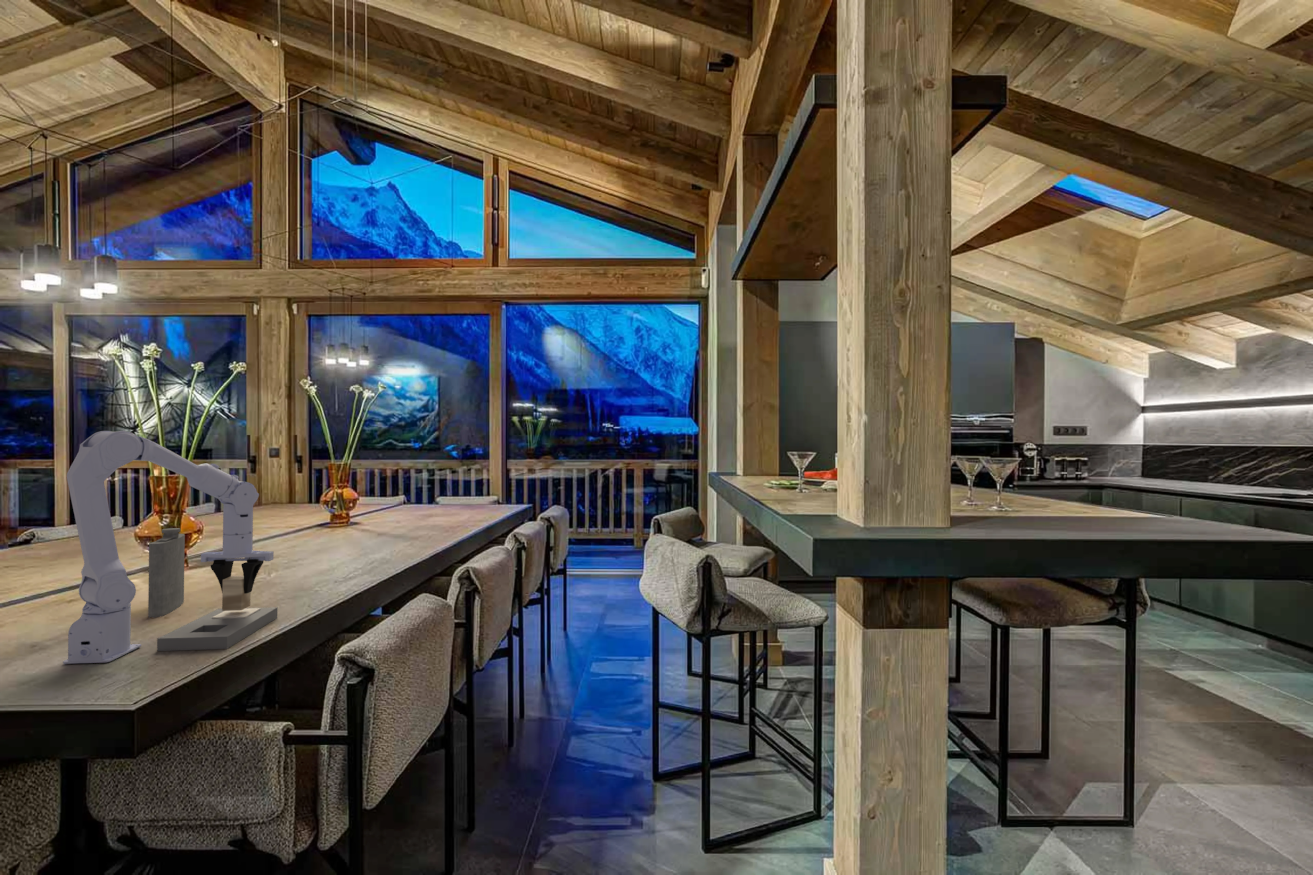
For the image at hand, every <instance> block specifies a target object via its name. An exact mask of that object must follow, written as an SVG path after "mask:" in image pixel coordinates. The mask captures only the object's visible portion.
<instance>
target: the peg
mask: <svg viewBox="0 0 1313 875" xmlns="http://www.w3.org/2000/svg"><path fill="white" fill-rule="evenodd" d="M251 593H252V591H251V592H249V593H244V575H231V577H228V578H226V579H223V589H222V590H221V594H222V595H221V600H222V602H221V603H222V604H221V605H222V606H221V609H222V611H236V610H243V609H245V608H250V606H251Z"/></svg>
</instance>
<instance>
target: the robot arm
mask: <svg viewBox="0 0 1313 875" xmlns="http://www.w3.org/2000/svg"><path fill="white" fill-rule="evenodd" d="M133 461H140V462H141V461H143V462H144V461H145V462H150V463H153V464H155V465H157V466H158V467H160V468H161V467H162V468H164V469H166V470H169V471H171V472H173V473H175V474H178V475H180V476H182V477H184V478H186V480H187V483H188V485H189V487H192V488H194V489H196V490H198V491H200V492H202V493H205V494H206V495H209V496H211V497H213V498H215V499H218V501H220V503H221V504H223V505H222V506H223V507H222V508H223V510H222V551H205V552H202V553H200V563H207V562H213V563H212V564H210V569H211V570H212V572H213V573H214V574H215V576H216V578H217V580H218V583H219V585H220V589H221V591H222V589H223V579H226V578H228V577H231V576H232V572H233V571H232V570H233V566H234V565H233V564H234V562H243V563H241V568H242V574H243V575H242V576H244V593H249V592H251V593H252V591H253V588H254V584H255V581H256V578H257V575H258V573H259V571H260V570H261V567H262V566H263V564H264V562H271V561H273V560H274V555H275V554H274V551H268V550H266V551H265V550H253V548H254V547H253V544H254V543H253V540H254V539H253V536H254V535H253V533H254V505H255V503H256V502H257V501H258V498H259V496H260V493H258V491H257V488H256V487H255V485H254V484H253V483H251V482H248V481H244V480H243V481H240V480H239V478H240V476H238V475H236V474H230V473H227V472H225V471H223V470H221V469H219V468H220V466H219V465H218V464H216V463H207V462H206V463H205V462H204V463H201V464H196V463H194V462H192V461H191V460H188V459H187V458H185V457H183V456H181V455H179V454H177V453H176V452H174V451H172V450H170V449H168V448H166V447H164V446H163V445H161V444H159V443H156V442H154V441H153V440H150V439H148V438H145V437H143V436H137V435H136V434H134V433H133V432H131V431H127V430H120V431H119V430H117V431H111V430H101V431H97V432H95V433H93V434H91V435H90V436H89V437H87V438H86V439H85V440H84V441H83V442H82V443H80V444H79V449H78V452H77V454H76V456H75V458H74V460H73V462H72V463H71V465H70V467H69V469H68V471H67V473H66V481H67V486H68V490H69V496H70V500H71V505H72V509H73V510H72V511H73V514H74V519H75V525H76V530H77V534H78V539H79V544H80V550H81V553H82V559H83V563H84V564H83V566H82V569H81V572H80V573H81V583H80V585H79V587H78V596H79V597H80V599H81V600H82V601H84V602H85V603H84V605H83V607H82V609H81V611H82V613H81V616H80V617H79V618H78V619H77V620H74V622H72V624H71V625H70V627H69V629H68V634H67V636H68V641H67V648H68V649H67V651H68V652H67V653H68V654H67V659H65V660H62V664H63V665H67V664H69V665H71V664H93V663H94V664H95V663H96V664H98V663H99V664H101V663H103V664H104V663H110V662H112V661H114V660H116V659H118V658H120V657H123V656H124V655H126V654H128V653H131V652H132V651H135V650H137V649H138V648H141V647H142V643H132V644H131V631H132V629H131V625H132V624H131V623H132V622H131V621H132V619H131V618H132V617H131V615H132V611H131V610H132V606H131V605H132V601H133V600H134V598H135V596H136V593H137V588H136V586H135V584H134V582H133V581H132V580H131V579H129V577H128V575H127V574H128V573H127V570H126V568H125V566H124V564H123V563H122V562H121V560H120V557H119V551H118V548H117V542H116V538H115V532H114V527H113V522H112V518H111V513H110V506H109V502H108V497H107V492H106V487H105V481H106V480H107V479H109V477H111V475H113V473H114V472H115V471H117V469H119V468H121V467H123V466H125V465H128V464H130V463H132V462H133ZM245 561H246V562H245Z"/></svg>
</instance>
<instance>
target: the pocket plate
mask: <svg viewBox="0 0 1313 875" xmlns="http://www.w3.org/2000/svg"><path fill="white" fill-rule="evenodd" d="M276 619H278V607H276V606H275V607H247V608H245V609H243V610H236V611H222V608H217V609H215V610H213V611H210V612H208V613H207V614H205V615H203V616H201V617H198V618H196V619H194V620H193V621H191V622H189V623H186V624H184V625H183V626H179V627H178V628H176V629H174V630H172V631H170V632H168V633H166V634H163V635H161V636H160V637H158V638H156V639H157V640H156V641H157V644H156V651H157V652H166V651H167V652H168V651H170V652H171V651H195V650H196V651H197V650H201V651H202V650H203V651H204V650H228V649H229V648H231V647H232V646H235V645H236V644H237V643H239V642H240V641H242V640H244V639H245V638H247V637H249V636H250V635H252V634H254V633H256V632H257V631H259V630H261V629H262V628H264V627H265V626H267V625H269V624H270V623H271V622H273V621H274V620H275V621H276Z"/></svg>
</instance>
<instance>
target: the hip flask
mask: <svg viewBox="0 0 1313 875" xmlns="http://www.w3.org/2000/svg"><path fill="white" fill-rule="evenodd" d="M180 532H181V528H180V527H178V528H177V527H176V528H175V527H174V528H173V527H169V528H163V529H161V533H162V537H161V538H159V539H157V540H156V541H153V542H152V541H151V542H149V544H148V595H147V596H148V597H147V599H148V600H147V603H148V604H147V606H148V609H147V615H148V616H147V617H148V618H151V617H153V618H160V616H161V617H164V616H166V615H168V614H170V613H172V612H174V611H175V610H177V609H178V608H180V607H181V606H183V604H184V602H185V547H186V546H185V544H186V542H185V537H186V535H185V534H184V533H180ZM173 610H174V611H173Z"/></svg>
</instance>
